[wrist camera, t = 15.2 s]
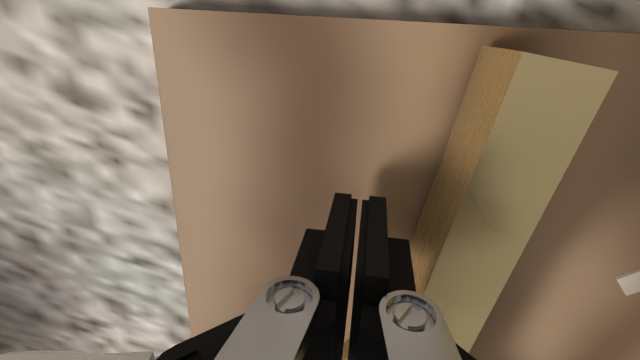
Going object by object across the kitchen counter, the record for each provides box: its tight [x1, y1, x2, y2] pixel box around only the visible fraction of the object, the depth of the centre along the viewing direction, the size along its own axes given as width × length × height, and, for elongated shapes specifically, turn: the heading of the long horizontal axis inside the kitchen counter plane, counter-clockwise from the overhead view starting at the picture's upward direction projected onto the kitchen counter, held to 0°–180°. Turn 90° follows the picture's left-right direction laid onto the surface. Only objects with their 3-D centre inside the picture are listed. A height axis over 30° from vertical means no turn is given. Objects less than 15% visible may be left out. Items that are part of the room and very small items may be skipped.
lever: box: [342, 45, 619, 360], centre depth 11 cm, size 5×16×3 cm, turn 169°
